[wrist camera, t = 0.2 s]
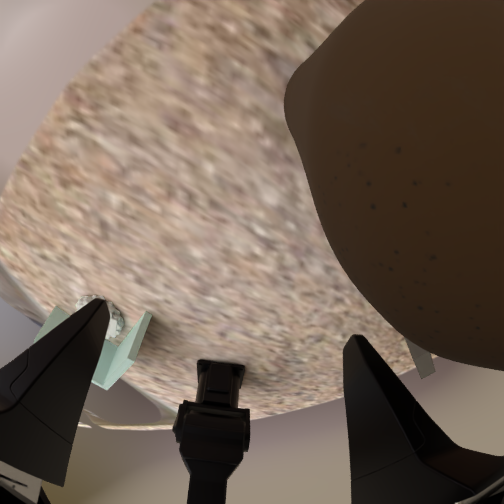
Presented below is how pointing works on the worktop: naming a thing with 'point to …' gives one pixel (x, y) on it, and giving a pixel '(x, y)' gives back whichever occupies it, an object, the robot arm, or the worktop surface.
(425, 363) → the domino
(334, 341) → the worktop surface
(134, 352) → the right angle wall
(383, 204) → the olive oil
